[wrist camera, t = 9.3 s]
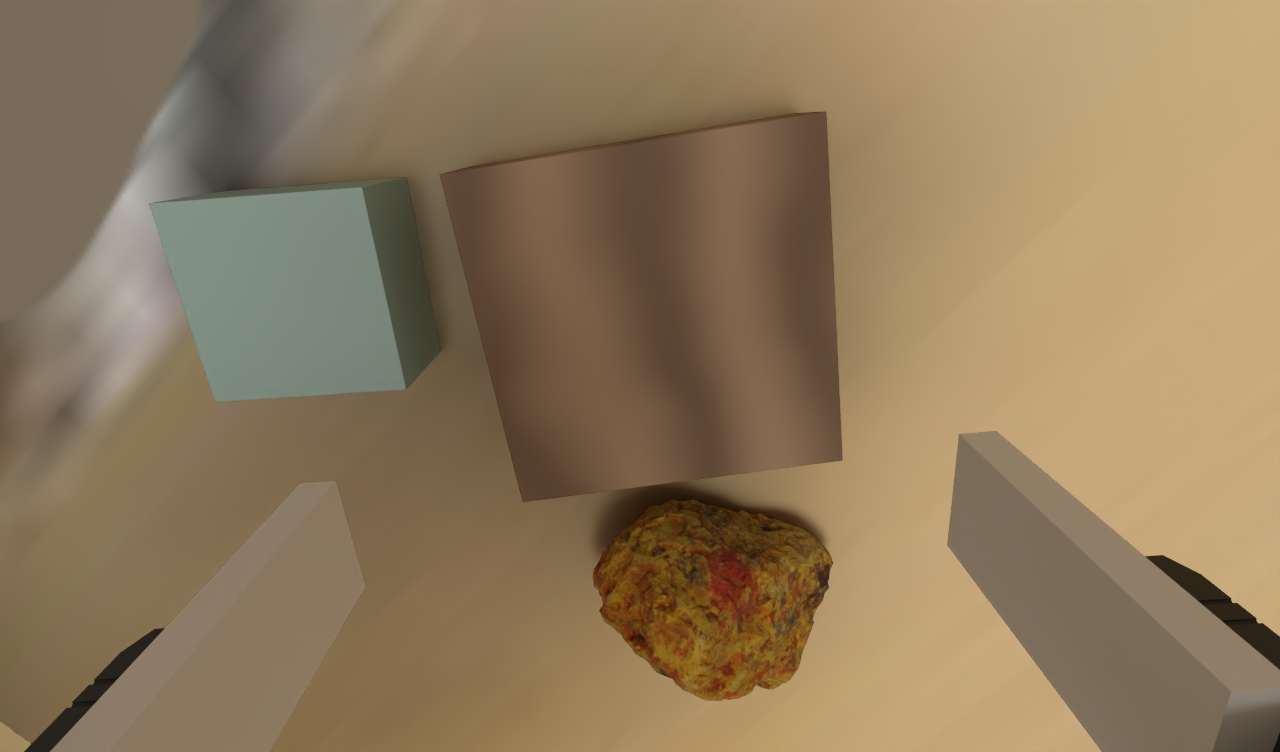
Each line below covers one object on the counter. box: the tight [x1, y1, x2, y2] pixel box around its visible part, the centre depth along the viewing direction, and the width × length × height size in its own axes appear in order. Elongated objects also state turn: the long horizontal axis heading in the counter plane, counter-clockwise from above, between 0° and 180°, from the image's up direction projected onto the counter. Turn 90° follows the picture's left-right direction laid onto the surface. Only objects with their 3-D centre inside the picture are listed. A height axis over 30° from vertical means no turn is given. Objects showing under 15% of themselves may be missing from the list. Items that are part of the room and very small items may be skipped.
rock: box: [593, 500, 833, 701], centre depth 33 cm, size 11×8×10 cm
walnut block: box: [440, 112, 842, 502], centre depth 28 cm, size 14×14×5 cm
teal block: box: [149, 177, 440, 402], centre depth 28 cm, size 8×8×5 cm
